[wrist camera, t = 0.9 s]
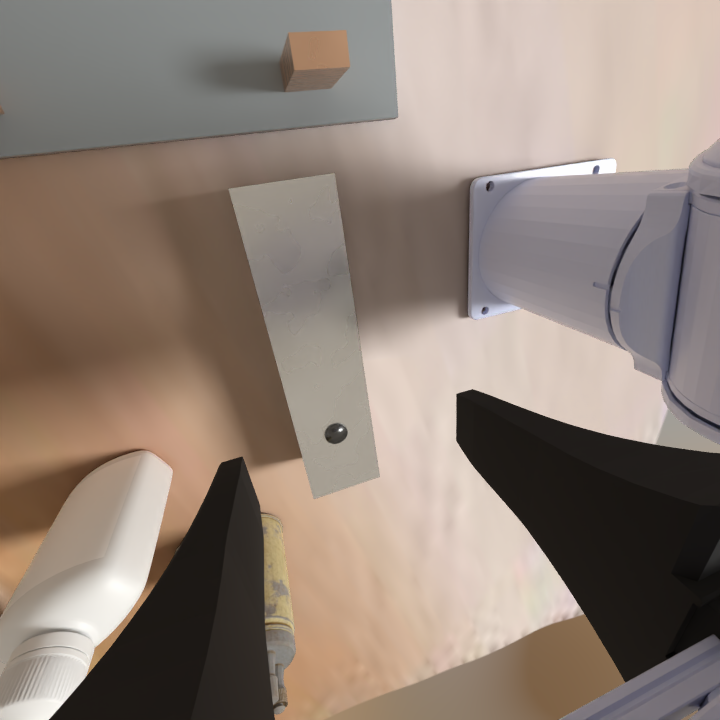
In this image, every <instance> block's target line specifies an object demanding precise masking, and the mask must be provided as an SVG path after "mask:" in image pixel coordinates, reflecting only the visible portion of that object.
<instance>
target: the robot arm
mask: <svg viewBox="0 0 720 720" xmlns="http://www.w3.org/2000/svg"><path fill="white" fill-rule="evenodd" d="M593 168H594V171H593V173H592V170H593ZM615 170H616V161H615V160H614V159H613V158H608V159H600V160H594V161H587V162H580V163H573V164H566V165H559V166H553V167H546V168H539V169H532V170H525V171H519V172H512V173H505V174H498V175H491V176H485V177H478V178H476V179H474V180H473V182H472V184H471V186H470V220H469V276H468V315H469V317H470V318H472V319H474V320H478V319H482V318H486V317H490V316H494V315H498V314H503V313H507V312H511V311H515V310H519V309H524V310H527V311H529V312H532V313H534V314H537V315H539V316H542V317H544V318H547V319H549V320H552V321H554V322H557V323H559V324H562V325H564V326H567V327H569V328H572V329H574V330H577V331H579V332H582V333H584V334H587V335H589V336H592V337H594V338H597V339H599V340H602V341H604V342H606V343H609V344H611V345H614V346H616V347H619V348H621V349H624V350H626V351H628V352H629V353H631V355H632V357H633V359H634V369H636V370H638V371H640V372H643V373H645V374H647V375H649V376H652V377H654V378H656V379H658V380H661V381H662V387H661V392H662V396H663V400H664V402H665V404H666V405H667V407H668V409H669V410H670V411H671V412H672V413H673V415H674V416H675V417H676V418H677V419H678V420H680V421H681V422H682V423H683V424H685V425H686V426H687V427H688V428H690V429H692V430H693V431H695V432H697V433H698V434H700V435H701V436H703V437H705V438H707V439H709V440H711V441H713V442H715V443H717V444H720V138H719V139H718V140H717V141H716V142H715V143H714V144H713V145H712V146H710V147H709V148H708V149H707V150H705V151H703V152H702V153H700V154H699V155H698V156H696V157H695V158H694V159H693V161H692V162H691V163H690V165H689V169H672V170H654V171H637V172H619V173H615ZM488 182H489V183H490V188H489V190H488V191H487V190H486V185H487V183H488ZM483 307H485V310H484V311H483V312H481V311H482V309H483ZM456 441H457V443H458V444H459V446H460V447H461V449H462V450H463V452H464V454H465V455H466V457H467V458H468V459H469V461H470V462H471V464H472V465H473V466H474V468H475V469H476V470H477V471H478V472H479V474H480V475H481V476H482V477H483V478H484V479H485V481H486V482H487V483H488V484H489V485H490V486H491V487H492V489H493V490H494V491H495V492H496V493H497V494H498V495H499V497H500V498H501V499H502V500H503V501H504V502H505V503H506V505H507V506H508V507H509V508H510V509H511V510H512V511H513V513H514V514H515V515H516V516H517V517H518V518H519V520H520V521H521V522H522V523H523V525H524V526H525V527H526V528H527V530H528V531H529V532H530V534H531V535H532V537H533V538H534V539H535V541H536V542H537V544H538V545H539V546H540V548H541V549H542V551H543V552H544V553H545V555H546V556H547V558H548V559H549V561H550V562H551V564H552V565H553V566H554V568H555V569H556V571H557V572H558V574H559V575H560V577H561V578H562V580H563V581H564V583H565V584H566V586H567V587H568V589H569V590H570V592H571V593H572V595H573V596H574V598H575V600H576V601H577V603H578V604H579V606H580V607H581V609H582V611H583V612H584V614H585V615H586V617H587V618H588V620H589V622H590V623H591V625H592V626H593V628H594V630H595V631H596V633H597V635H598V636H599V638H600V640H601V641H602V643H603V645H604V646H605V648H606V650H607V651H608V653H609V655H610V656H611V658H612V660H613V661H614V663H615V665H616V667H617V668H618V670H619V672H620V673H621V675H622V677H623V679H624V681H625V682H626V683H624V684H622V685H620V686H619V687H617V688H615V689H613V690H611V691H610V692H608V693H606V694H604V695H602V696H600V697H599V698H597V699H595V700H593V701H592V702H590V703H588V704H586V705H584V706H582V707H581V708H579V709H577V710H575V711H574V712H571V713H570V714H568V715H566V716H564V717H562V718H561V719H559V720H681V719H683V718H684V717H686V716H687V715H689V714H691V713H693V712H694V711H696V710H697V709H698V712H697V713H696V714H695V715H693V716H692V717H691V718H690V719H688V720H720V453H709V452H701V451H693V450H686V449H679V448H672V447H665V446H660V445H654V444H648V443H643V442H638V441H633V440H628V439H623V438H619V437H614V436H610V435H606V434H602V433H598V432H595V431H591V430H587V429H583V428H580V427H576V426H573V425H570V424H567V423H564V422H560V421H557V420H554V419H551V418H548V417H546V416H543V415H540V414H537V413H534V412H532V411H529V410H526V409H524V408H521V407H518V406H516V405H513V404H511V403H508V402H506V401H503V400H500V399H498V398H495V397H493V396H490V395H487V394H485V393H482V392H479V391H476V390H473V389H472V390H468V391H465V392H462V393H458V394H457V425H456ZM49 720H275V718H274V709H273V700H272V691H271V682H270V672H269V663H268V653H267V643H266V631H265V594H264V535H263V526H262V518H261V511H260V504H259V501H258V499H257V496H256V493H255V490H254V487H253V485H252V482H251V479H250V476H249V473H248V470H247V468H246V465H245V462H244V459H243V457H239V458H236V459H232V460H229V461H226V462H222V463H221V464H220V466H219V468H218V470H217V472H216V475H215V477H214V479H213V482H212V484H211V486H210V488H209V491H208V493H207V495H206V497H205V499H204V501H203V503H202V505H201V507H200V509H199V511H198V513H197V515H196V517H195V519H194V521H193V523H192V525H191V527H190V529H189V531H188V532H187V534H186V536H185V538H184V539H183V541H182V543H181V545H180V546H179V548H178V550H177V552H176V553H175V555H174V557H173V559H172V560H171V562H170V563H169V565H168V567H167V568H166V570H165V571H164V573H163V575H162V576H161V578H160V579H159V581H158V582H157V584H156V585H155V587H154V588H153V590H152V591H151V593H150V594H149V596H148V597H147V599H146V600H145V601H144V603H143V604H142V606H141V607H140V608H139V610H138V611H137V612H136V614H135V615H134V617H133V618H132V619H131V621H130V622H129V623H128V625H127V626H126V627H125V629H124V630H123V631H122V633H121V634H120V635H119V637H118V638H117V639H116V641H115V642H114V643H113V645H112V646H111V647H110V648H109V650H108V651H107V652H106V653H105V655H104V656H103V657H102V658H101V659H100V661H99V662H98V663H97V664H96V665H95V667H94V668H93V669H92V670H91V672H90V673H89V674H88V675H87V676H86V678H85V679H84V680H83V681H82V682H81V683H80V685H79V686H78V687H77V688H76V689H75V690H74V692H73V693H72V694H71V695H70V696H69V697H68V699H67V700H66V701H65V702H64V703H63V704H62V705H61V707H60V708H59V709H58V710H57V711H56V712H55V713H54V714H53V716H52V717H51V718H50V719H49Z"/></svg>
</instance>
